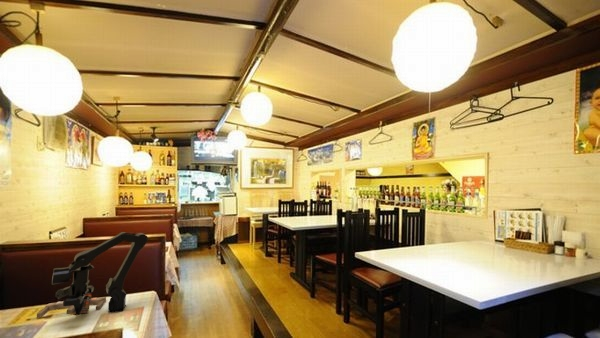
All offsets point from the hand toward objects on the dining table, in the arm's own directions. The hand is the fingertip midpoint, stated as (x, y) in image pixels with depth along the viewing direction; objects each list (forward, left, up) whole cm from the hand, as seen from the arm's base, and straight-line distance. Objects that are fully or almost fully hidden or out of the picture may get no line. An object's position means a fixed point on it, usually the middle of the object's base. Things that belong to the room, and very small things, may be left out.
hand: (78, 314), depth 128 cm
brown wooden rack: (+7, -14, -3) cm, 15 cm away
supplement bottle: (0, -3, -2) cm, 3 cm away
